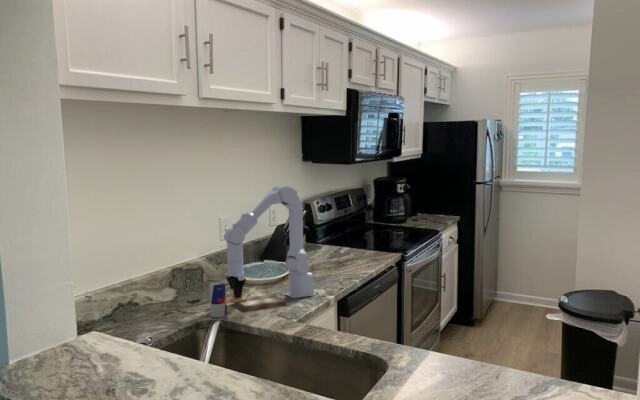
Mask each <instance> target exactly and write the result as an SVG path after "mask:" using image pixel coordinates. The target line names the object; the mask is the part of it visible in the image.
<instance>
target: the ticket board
mask: <svg viewBox="0 0 640 400" xmlns="http://www.w3.org/2000/svg"><path fill="white" fill-rule="evenodd" d="M246 298H247V301H242V302H235V303H234V304H235V305H234V304H233V305H234V306H236V307H237V308H238V309H240V310H241V311H243V312H251V311H258V310H264V309H266V310H267V309H271V308H277V307H285V306H287V301H286V300H285V299H284V298H282V297H280V296H277V295H275V294H271V293H270V294H265V295H257V296H249V297H246Z"/></svg>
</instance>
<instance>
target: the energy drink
mask: <svg viewBox="0 0 640 400" xmlns="http://www.w3.org/2000/svg"><path fill="white" fill-rule="evenodd" d="M208 290H209V307H210V308H209V309H210V310H209V311H210V312H209V313H210V320H212V321H213V322H214V321H215V322H216V321H217V320H219V321H224V320H226V319H228V308H227V286H226V281H213V282H210V283H209V289H208Z"/></svg>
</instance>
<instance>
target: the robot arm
mask: <svg viewBox="0 0 640 400" xmlns="http://www.w3.org/2000/svg"><path fill="white" fill-rule="evenodd" d="M278 204H281V205H283V206H284V207H285V208H286V209H288V225H289V226H288V227H289V228H288V232H289V250H288V252H287V253H286V254H287V257H286V259H285V267H286V269H287V270H288V291H289V292H288V293H287V292H286V293H285V295H286V296H287V297H289V298H292V299H297V298H305V297H312V296H316V294H315V284H314V282H315V279H314V276H313V273H312V272H309V269H310V261H309V260H308V254H307V252H306V251H305V248H304V222H303V220H304V219H303V202H302V201H301V199H300V197H299V195H298V190H296V189H295V188H294V187H292V186H291V185H283V186H282V185H277V186H274V187H273V188H272V189H271V190H270V191H268V192H267V194H266V195H265V196H264V197H263V198H262V200H261V201H260V202H259V203H258V204H257V205H256V207H255V208H253V210H251V212H246V213H242V214H241V215H240V218H239V219H238V220H237V222H236V223H232V227H230V228H228V229H227V230H225V234H224V235H223V238H224V241H226V256H227V257H226V258H227V272H225V273H224V275H225V276H228V277H226V280H227V282H228V285H229V287H230V290H231V289H233V290H234V296H235V298H241V295H243V289H244V286H245V283H246V280H247V279H246V278H245V270H244V250H243V242H244V241H245V237H246V236H247V235H248V234H249V232H250V231H251V230H252V229H253V228H254V227H255V226H256V225H257V224H258V219H259V218H260V217H261V216H262V215H263V214H264V213H265V212H266V211H267V210H268V209H269V208H271V207H272V206H273V205H278Z"/></svg>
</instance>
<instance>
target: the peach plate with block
mask: <svg viewBox="0 0 640 400" xmlns="http://www.w3.org/2000/svg"><path fill="white" fill-rule="evenodd" d="M230 295H231V296H230V297H226V301H228V302H229V303H231V304H233V303H235V302H242V301H247V298H248V297H245V296H243V294H242V295H241V298H235V296H234V290H233V289H231V288H230Z"/></svg>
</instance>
